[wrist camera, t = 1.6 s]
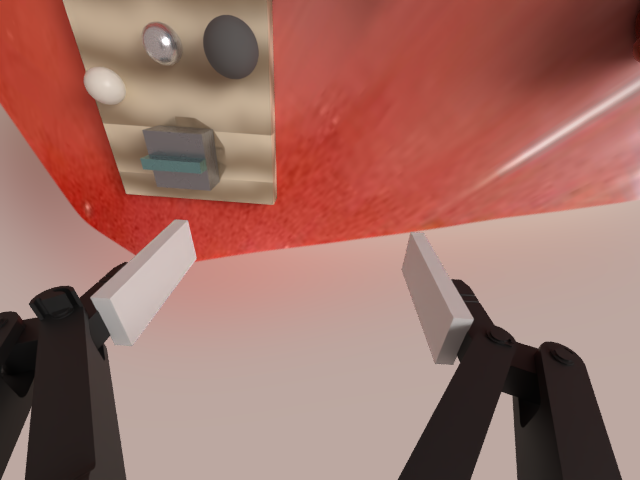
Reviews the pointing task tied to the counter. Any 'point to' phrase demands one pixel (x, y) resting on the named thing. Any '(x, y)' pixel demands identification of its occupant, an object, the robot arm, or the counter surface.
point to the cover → (181, 157)
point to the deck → (184, 91)
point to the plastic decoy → (104, 85)
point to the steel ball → (161, 43)
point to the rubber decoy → (230, 47)
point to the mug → (639, 45)
